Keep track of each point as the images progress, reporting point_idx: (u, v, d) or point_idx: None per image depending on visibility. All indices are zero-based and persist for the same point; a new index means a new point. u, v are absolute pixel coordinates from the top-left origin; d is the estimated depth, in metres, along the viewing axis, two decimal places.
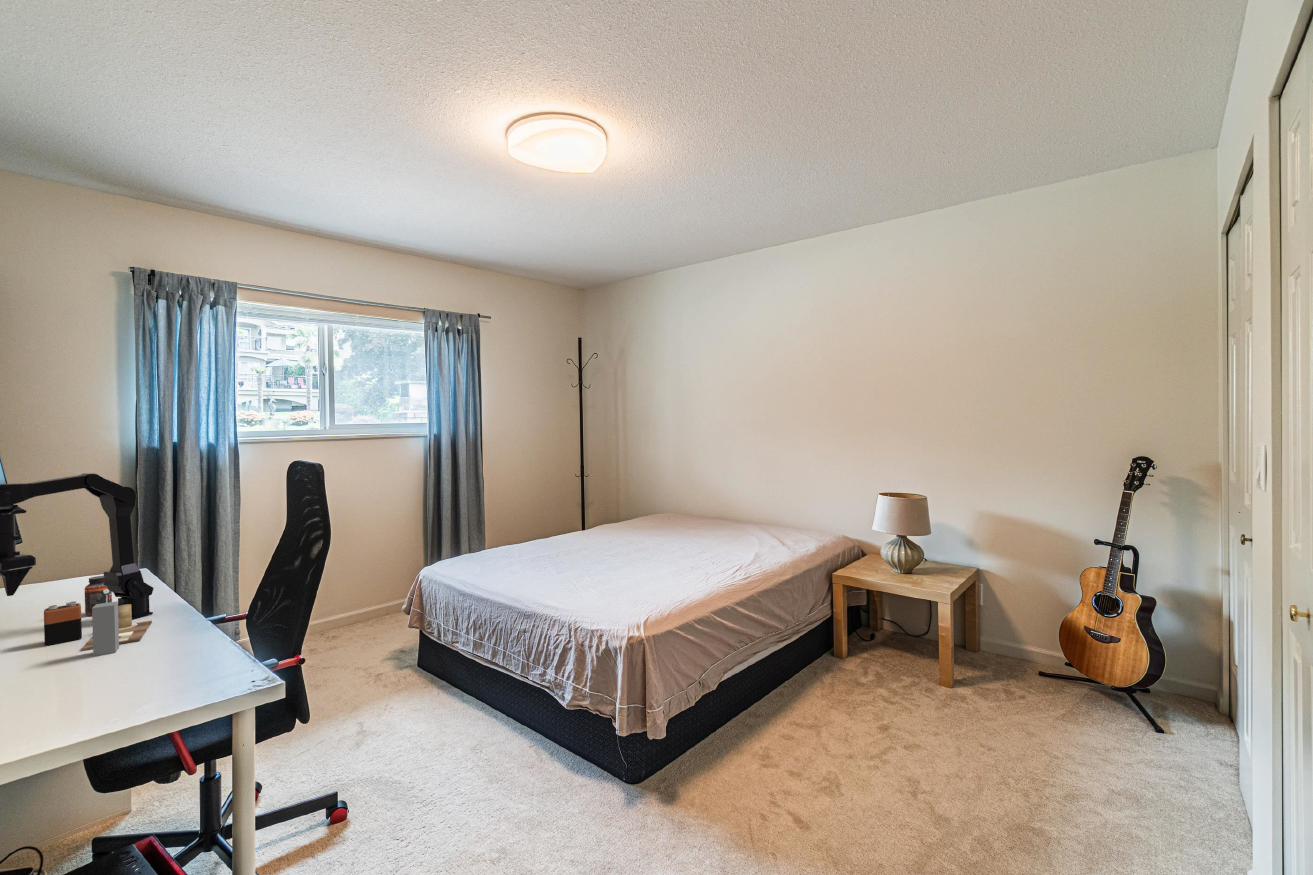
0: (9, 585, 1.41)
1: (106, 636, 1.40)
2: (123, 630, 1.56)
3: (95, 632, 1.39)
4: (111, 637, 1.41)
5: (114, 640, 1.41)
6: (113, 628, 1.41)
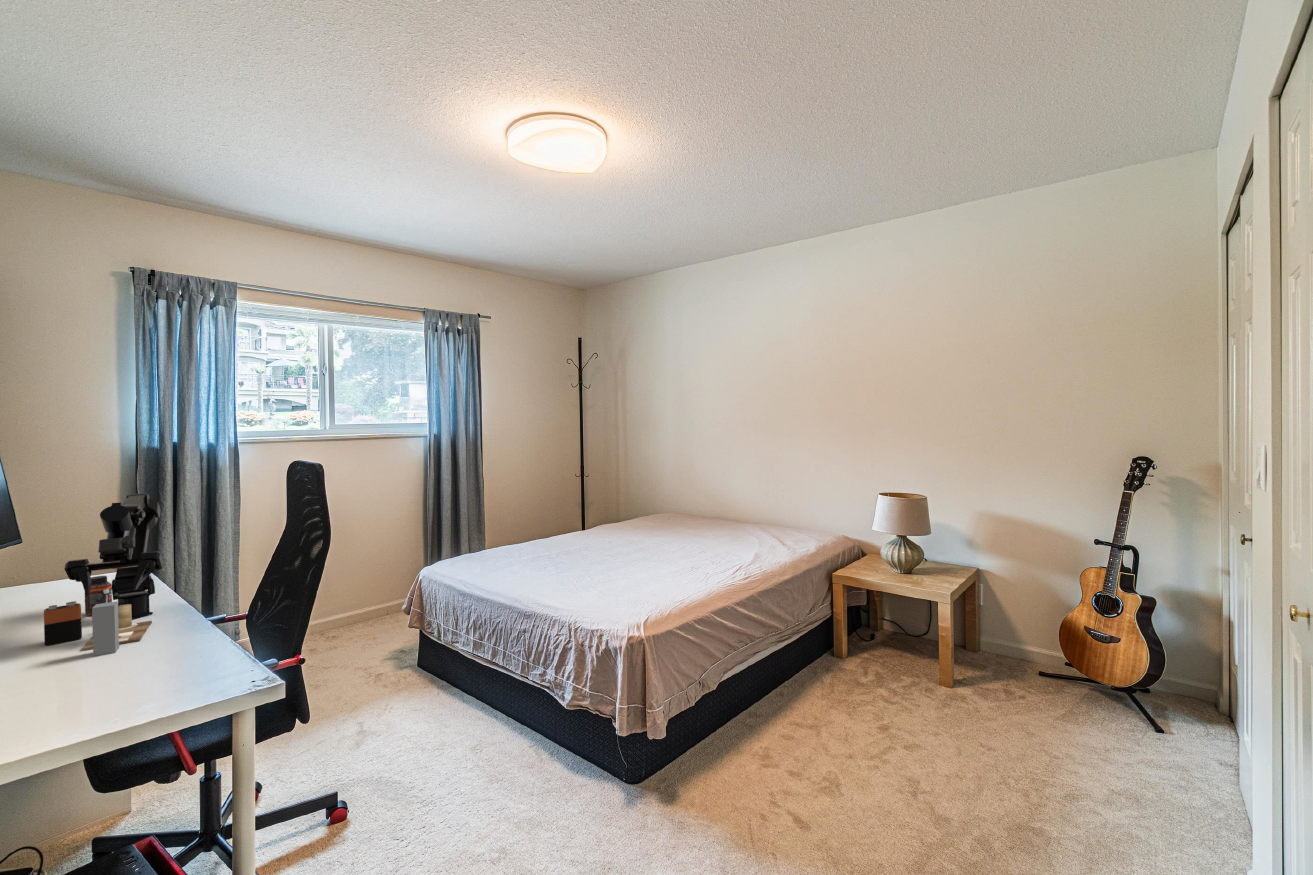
0: (139, 579, 1.52)
1: (106, 636, 1.40)
2: (123, 630, 1.56)
3: (95, 632, 1.39)
4: (111, 637, 1.41)
5: (114, 640, 1.41)
6: (113, 628, 1.41)
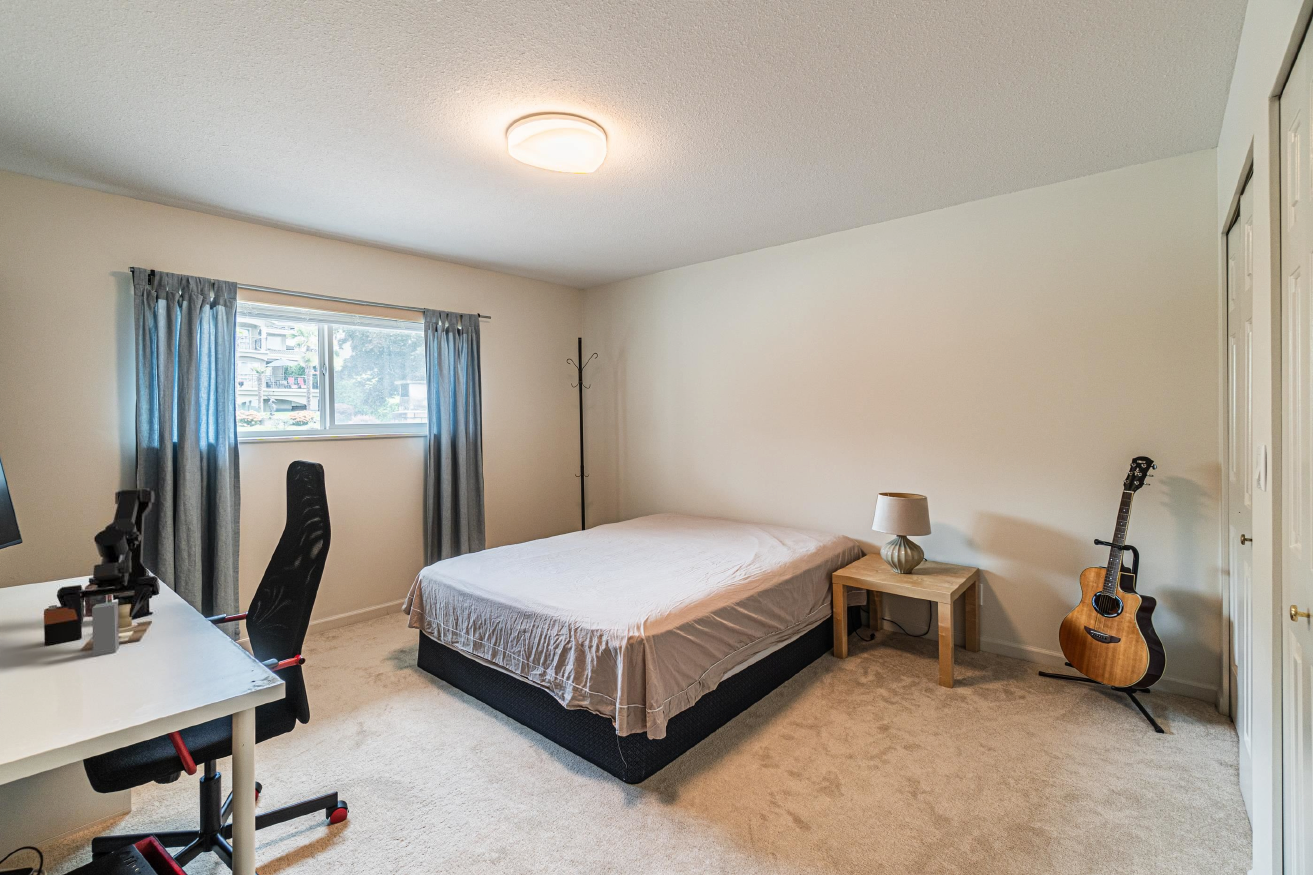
0: (135, 605, 1.46)
1: (106, 636, 1.40)
2: (123, 630, 1.56)
3: (95, 632, 1.39)
4: (111, 637, 1.41)
5: (114, 640, 1.41)
6: (113, 628, 1.41)
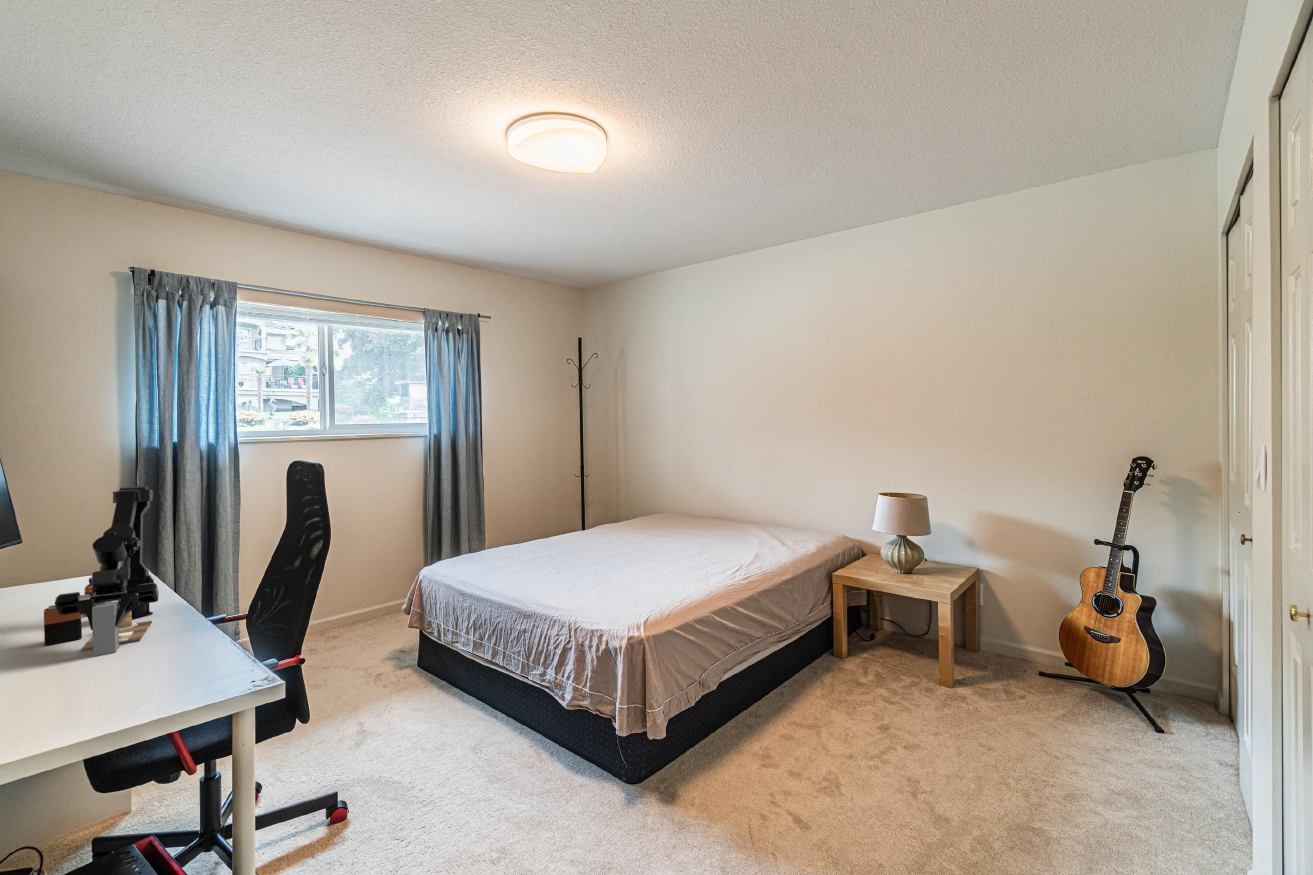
0: (121, 614, 1.43)
1: (106, 636, 1.40)
2: (123, 630, 1.56)
3: (95, 632, 1.39)
4: (111, 637, 1.41)
5: (114, 640, 1.41)
6: (113, 628, 1.41)
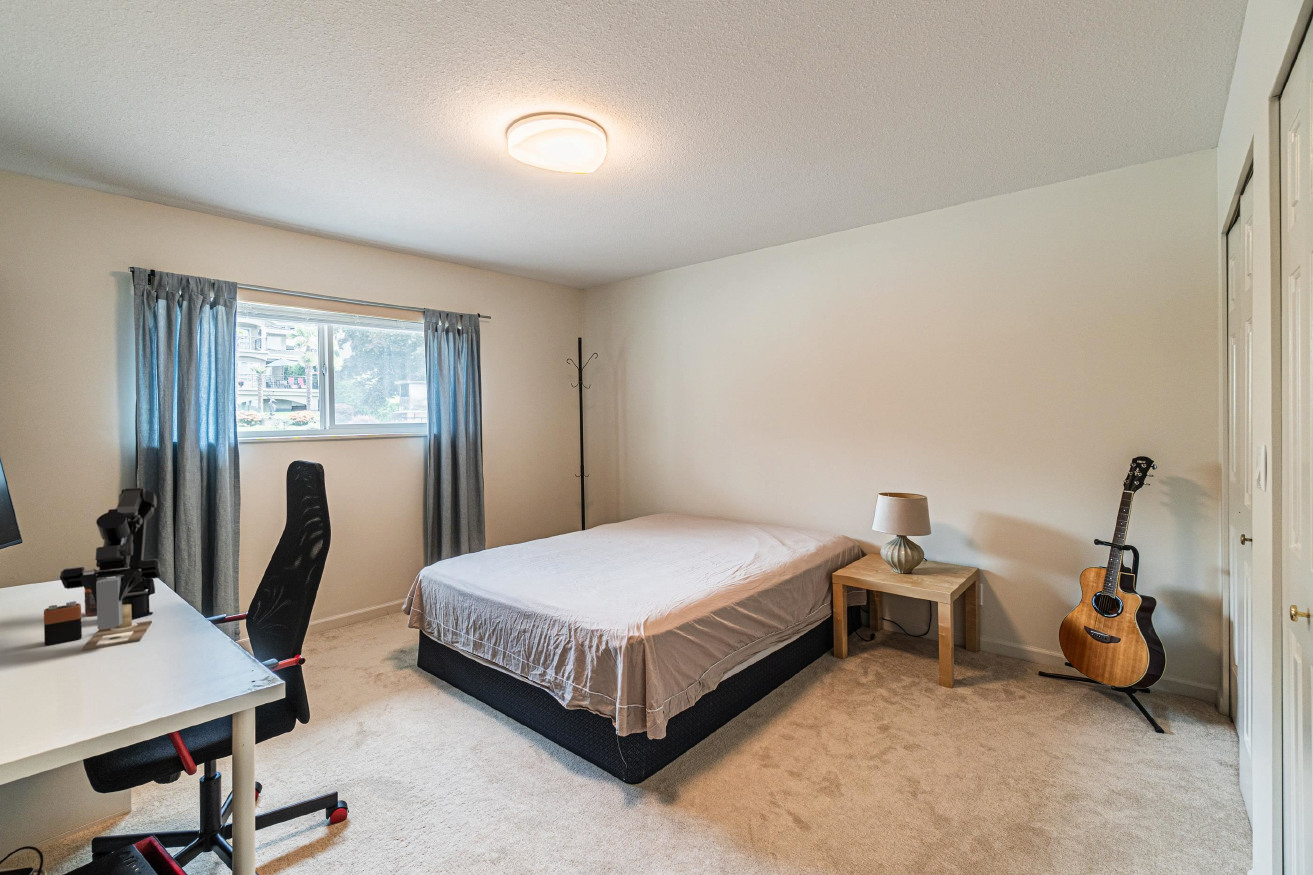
0: (125, 589, 1.47)
1: (110, 609, 1.44)
2: (123, 630, 1.56)
3: (99, 605, 1.43)
4: (115, 610, 1.44)
5: (118, 614, 1.45)
6: (117, 602, 1.45)
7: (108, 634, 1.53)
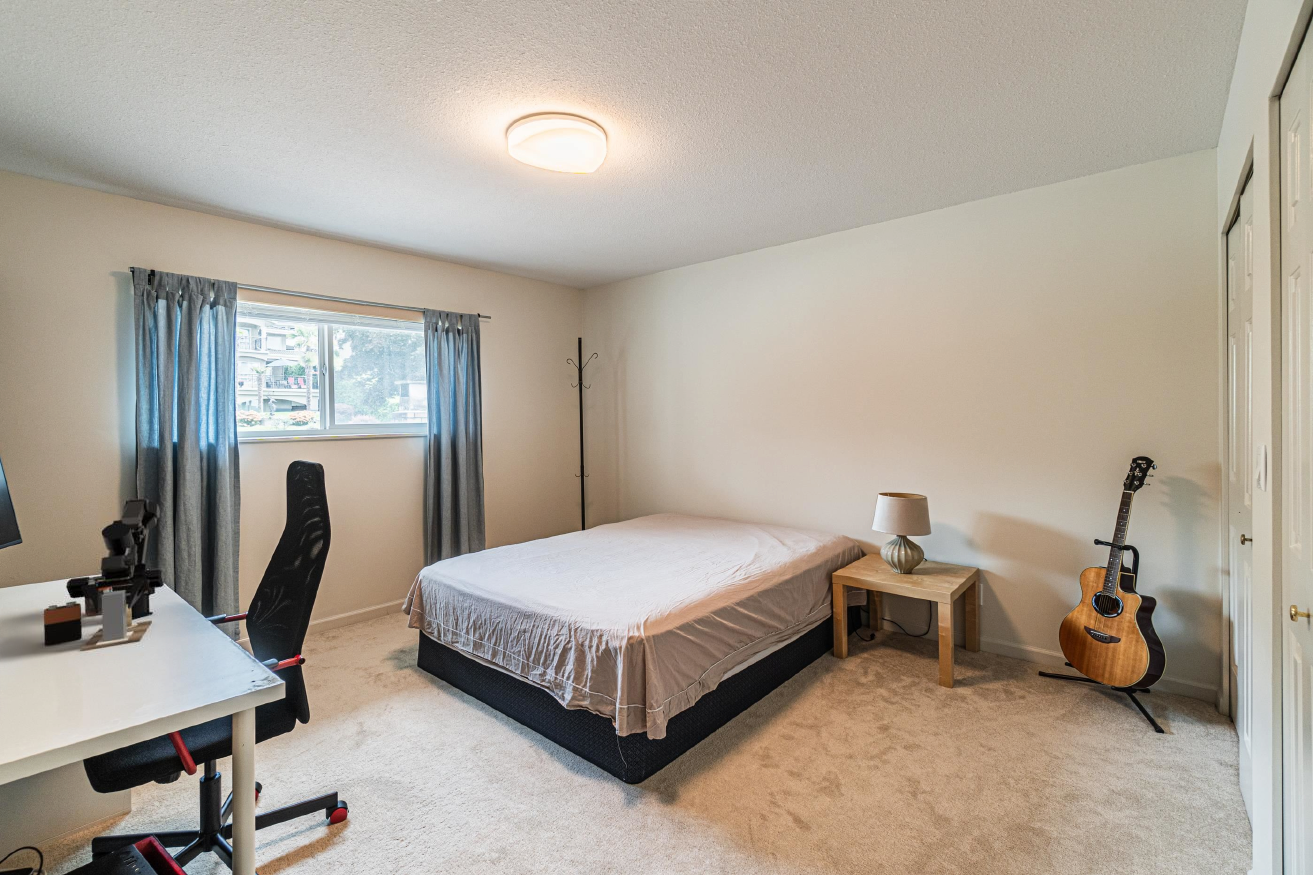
0: (134, 597, 1.52)
1: (115, 622, 1.48)
2: None
3: (104, 618, 1.47)
4: (119, 623, 1.48)
5: (122, 626, 1.49)
6: (121, 615, 1.49)
7: None
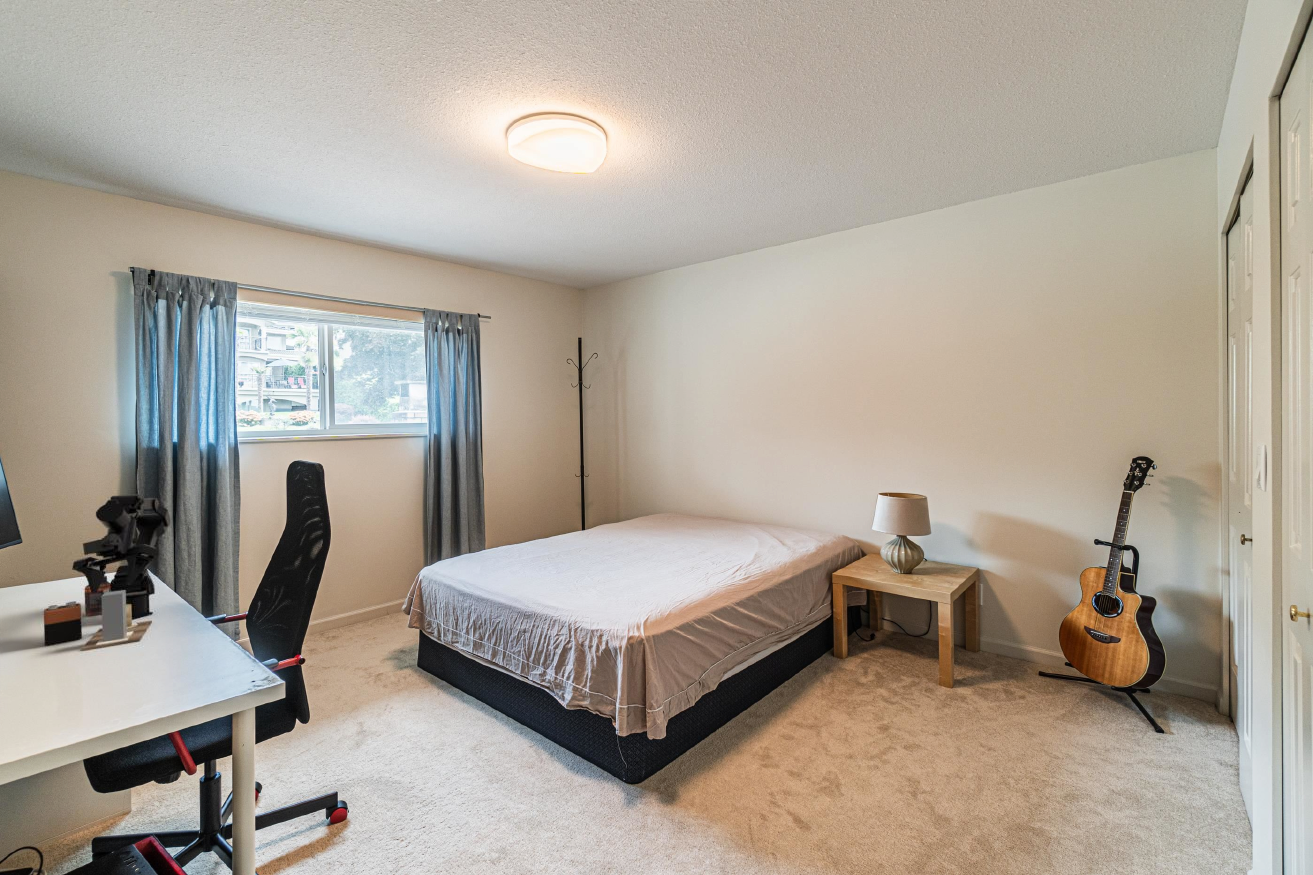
0: (131, 573, 1.56)
1: (115, 622, 1.48)
2: None
3: (104, 619, 1.47)
4: (119, 623, 1.48)
5: (122, 626, 1.49)
6: (121, 615, 1.49)
7: None
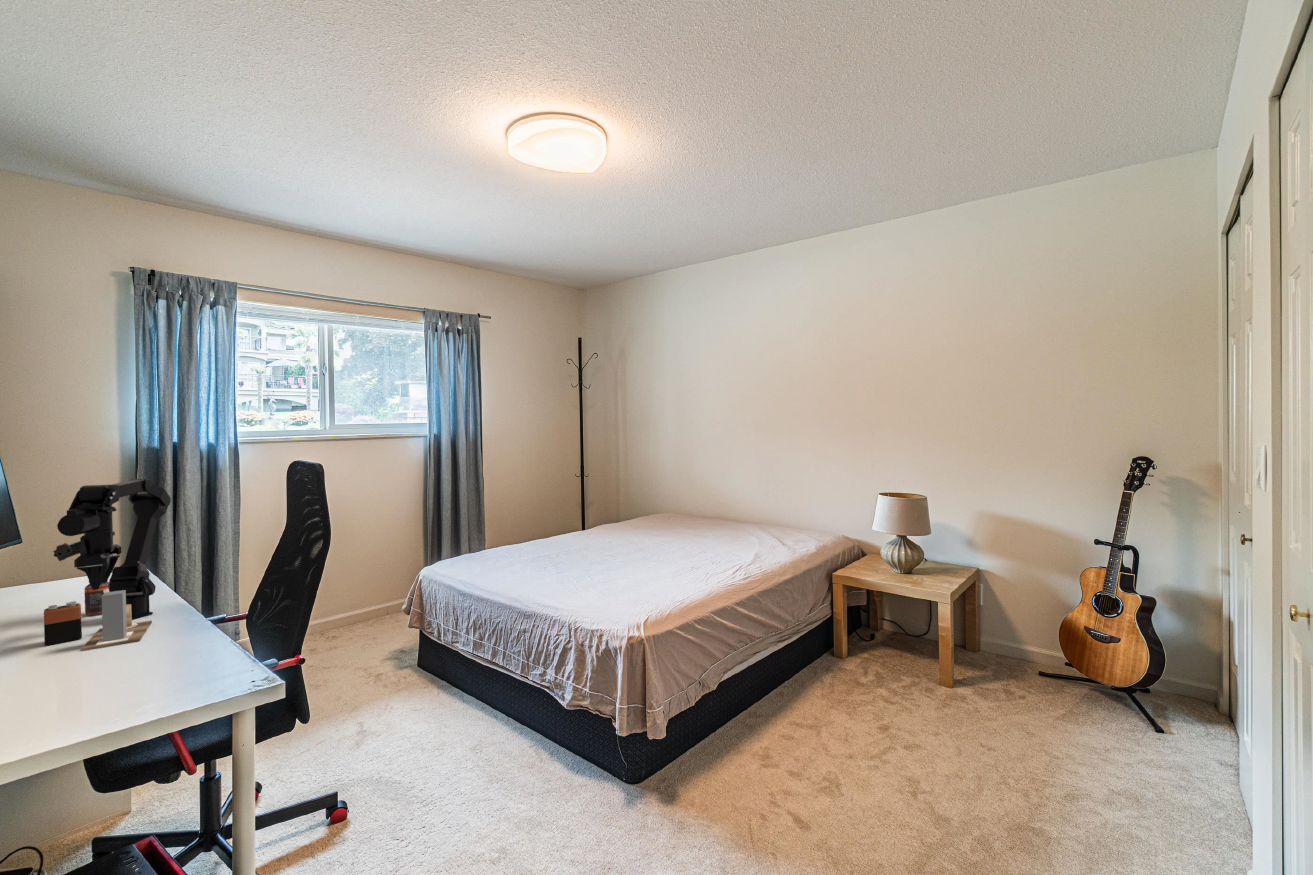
0: (92, 580, 1.51)
1: (115, 622, 1.48)
2: None
3: (104, 618, 1.47)
4: (119, 623, 1.48)
5: (122, 626, 1.49)
6: (121, 615, 1.49)
7: None
